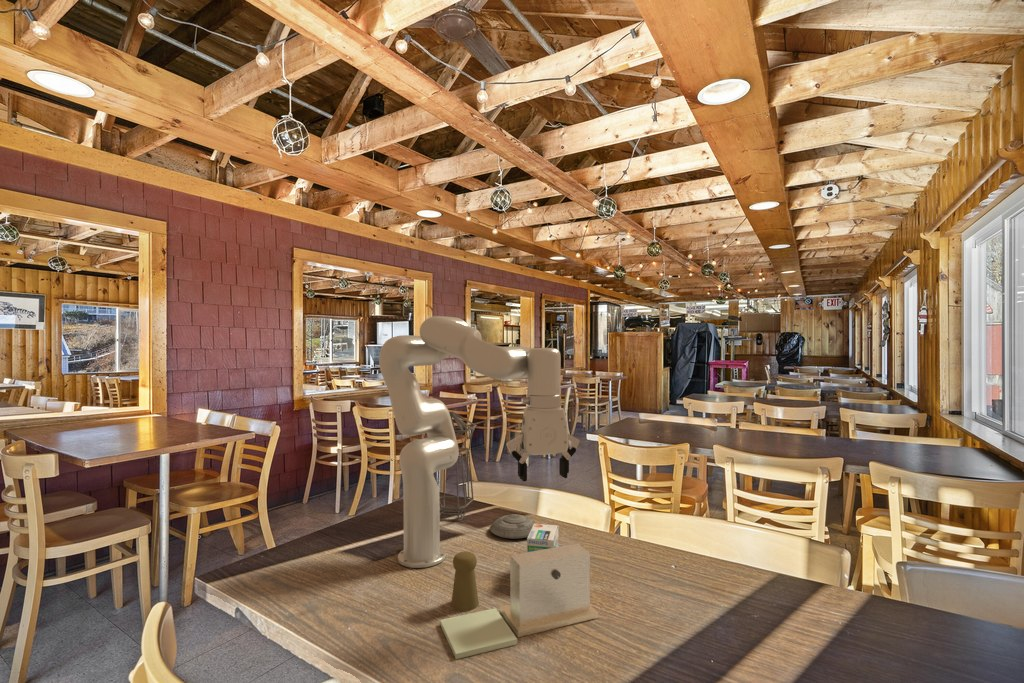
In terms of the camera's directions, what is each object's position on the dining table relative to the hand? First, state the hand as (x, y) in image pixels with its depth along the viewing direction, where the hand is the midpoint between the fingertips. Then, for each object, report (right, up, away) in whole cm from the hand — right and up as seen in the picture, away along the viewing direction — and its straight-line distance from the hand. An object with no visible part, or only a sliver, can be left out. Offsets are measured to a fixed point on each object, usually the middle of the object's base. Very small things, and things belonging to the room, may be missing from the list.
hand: (543, 478), depth 112 cm
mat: (-14, -27, -14) cm, 33 cm away
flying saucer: (-6, -28, +39) cm, 48 cm away
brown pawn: (-17, -27, -3) cm, 32 cm away
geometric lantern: (-28, -28, +54) cm, 67 cm away
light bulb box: (+1, -27, +11) cm, 29 cm away
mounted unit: (+1, -27, -8) cm, 28 cm away
